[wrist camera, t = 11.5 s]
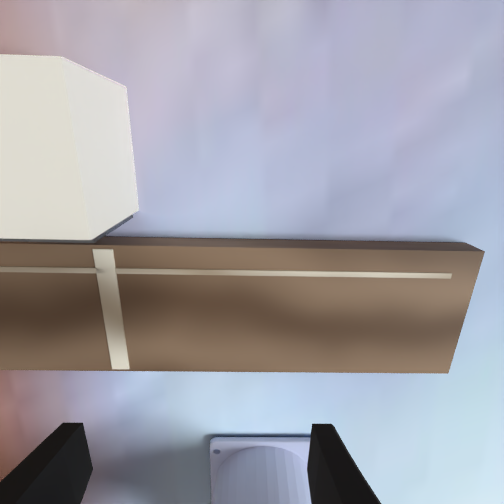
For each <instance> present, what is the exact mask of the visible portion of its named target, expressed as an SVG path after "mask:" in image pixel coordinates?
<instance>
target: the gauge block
mask: <svg viewBox="0 0 504 504" xmlns="http://www.w3.org/2000/svg"><path fill="white" fill-rule="evenodd" d="M137 211H139V206H138V196H137V186H136V176H135V166H134V156H133V147H132V137H131V127H130V117H129V107H128V97H127V88H126V86H124V85H122V84H119V83H117V82H115V81H113V80H111V79H109V78H107V77H104V76H102V75H100V74H98V73H96V72H94V71H92V70H89V69H87V68H85V67H83V66H81V65H79V64H77V63H74V62H72V61H70V60H68V59H66V58H64V57H62V56H35V55H6V54H0V241H10V242H63V243H95V242H96V241H98V240H99V239H101V238H102V237H104V236H105V235H107V234H108V233H110V232H111V231H113V230H115V229H116V228H118V227H119V226H121V225H122V224H124V223H125V222H127V221H128V220H130V219H131V218H133V214H134V213H135V212H137Z"/></svg>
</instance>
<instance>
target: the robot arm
mask: <svg viewBox="0 0 504 504" xmlns="http://www.w3.org/2000/svg"><path fill="white" fill-rule="evenodd" d="M92 470H93V467H92V463H91V458H90V454H89V449H88V445H87V440H86V436H85V431H84V426H83V423H62V424H61V425H60V426H59V427H58V428H57V429H56V430H55V431H54V432H53V433H51V434H50V435H49V436H48V437H47V438H46V439H45V440H44V441H43V442H42V443H41V444H40V445H39V446H38V447H37V448H36V449H35V450H34V451H33V452H32V453H30V454H29V455H28V456H27V457H26V458H25V459H24V460H23V461H22V462H21V463H20V464H19V465H18V466H17V467H16V468H15V469H14V470H13V471H11V472H10V473H9V474H8V475H7V476H6V477H5V478H4V479H3V480H2V481H1V482H0V504H80V503H81V501H82V498H83V495H84V493H85V490H86V487H87V484H88V481H89V479H90V476H91V473H92ZM210 473H211V502H212V504H381V503H380V501H379V500H378V498H377V497H376V495H375V494H374V492H373V490H372V489H371V487H370V486H369V484H368V483H367V481H366V480H365V478H364V477H363V475H362V473H361V472H360V470H359V469H358V467H357V465H356V464H355V462H354V460H353V459H352V457H351V455H350V454H349V452H348V450H347V449H346V447H345V445H344V443H343V442H342V440H341V438H340V436H339V434H338V433H337V431H336V429H335V427H334V426H333V425H332V424H312V430H311V437H215V438H213V439H211V441H210Z"/></svg>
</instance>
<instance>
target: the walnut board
mask: <svg viewBox="0 0 504 504" xmlns="http://www.w3.org/2000/svg"><path fill="white" fill-rule="evenodd" d="M484 252H485V251H482V250H480V249H478V248H476V247H474V246H472V245H469V244H467V243H451V242H394V241H336V240H278V239H220V238H163V237H105V236H104V237H102V238H101V239H99V240H98V241H96V242H95V243H63V242H10V241H0V370H75V371H205V372H335V373H448V372H449V369H450V366H451V362H452V359H453V356H454V352H455V349H456V346H457V342H458V339H459V336H460V332H461V329H462V326H463V322H464V319H465V316H466V312H467V309H468V306H469V302H470V299H471V296H472V292H473V289H474V286H475V282H476V279H477V276H478V272H479V269H480V266H481V262H482V259H483V256H484Z"/></svg>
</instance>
